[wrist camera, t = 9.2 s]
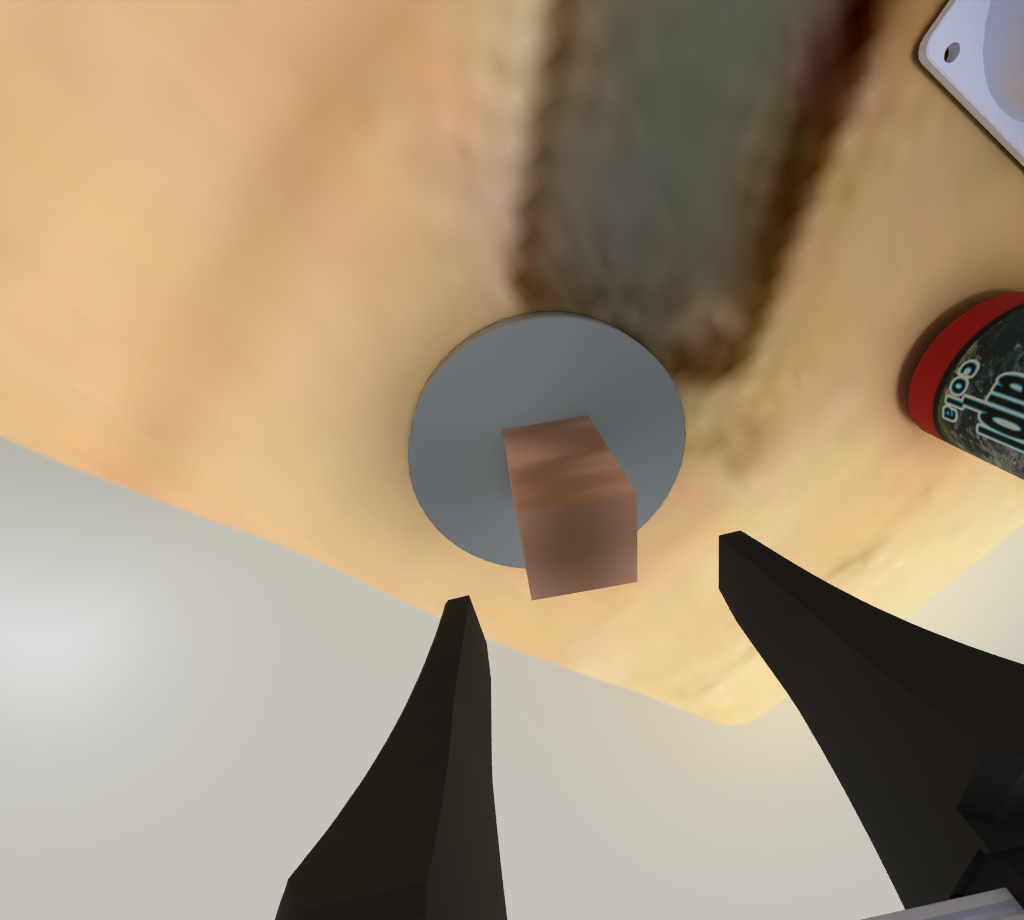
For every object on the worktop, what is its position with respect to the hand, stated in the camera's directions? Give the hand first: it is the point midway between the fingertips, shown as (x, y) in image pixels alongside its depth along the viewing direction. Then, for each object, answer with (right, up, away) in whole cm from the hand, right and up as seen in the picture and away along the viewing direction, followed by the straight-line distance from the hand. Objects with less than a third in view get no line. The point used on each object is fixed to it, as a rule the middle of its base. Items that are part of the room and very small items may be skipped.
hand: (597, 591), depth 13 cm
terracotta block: (-1, +4, +7) cm, 8 cm away
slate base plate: (-1, +4, +8) cm, 9 cm away
